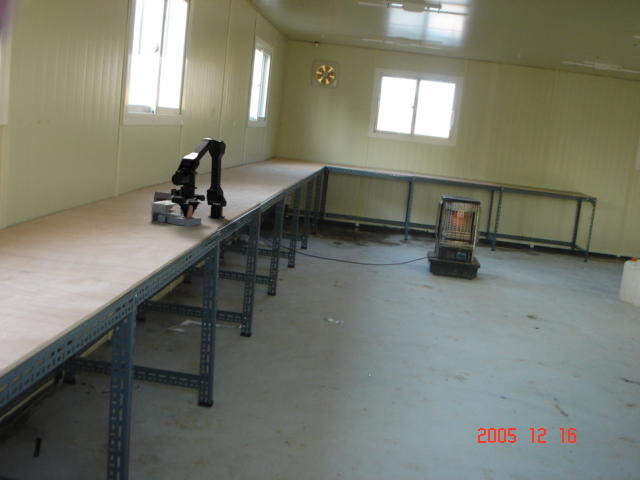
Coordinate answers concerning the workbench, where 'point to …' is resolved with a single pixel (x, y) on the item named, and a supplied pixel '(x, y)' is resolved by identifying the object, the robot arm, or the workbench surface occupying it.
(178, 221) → the socket board
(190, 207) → the peg
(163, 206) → the awning
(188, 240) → the workbench surface
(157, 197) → the voltmeter
